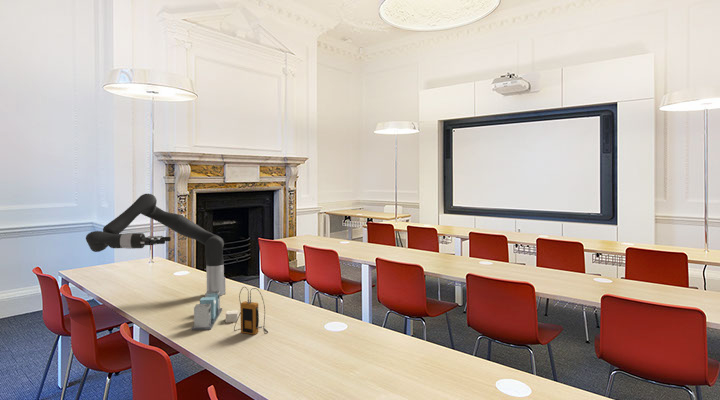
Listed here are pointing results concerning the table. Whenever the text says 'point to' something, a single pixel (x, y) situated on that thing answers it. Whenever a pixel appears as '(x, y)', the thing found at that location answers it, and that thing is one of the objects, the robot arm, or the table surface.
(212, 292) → the grey u-shaped metal stand
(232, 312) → the block
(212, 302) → the block
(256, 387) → the table surface
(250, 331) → the multimeter
